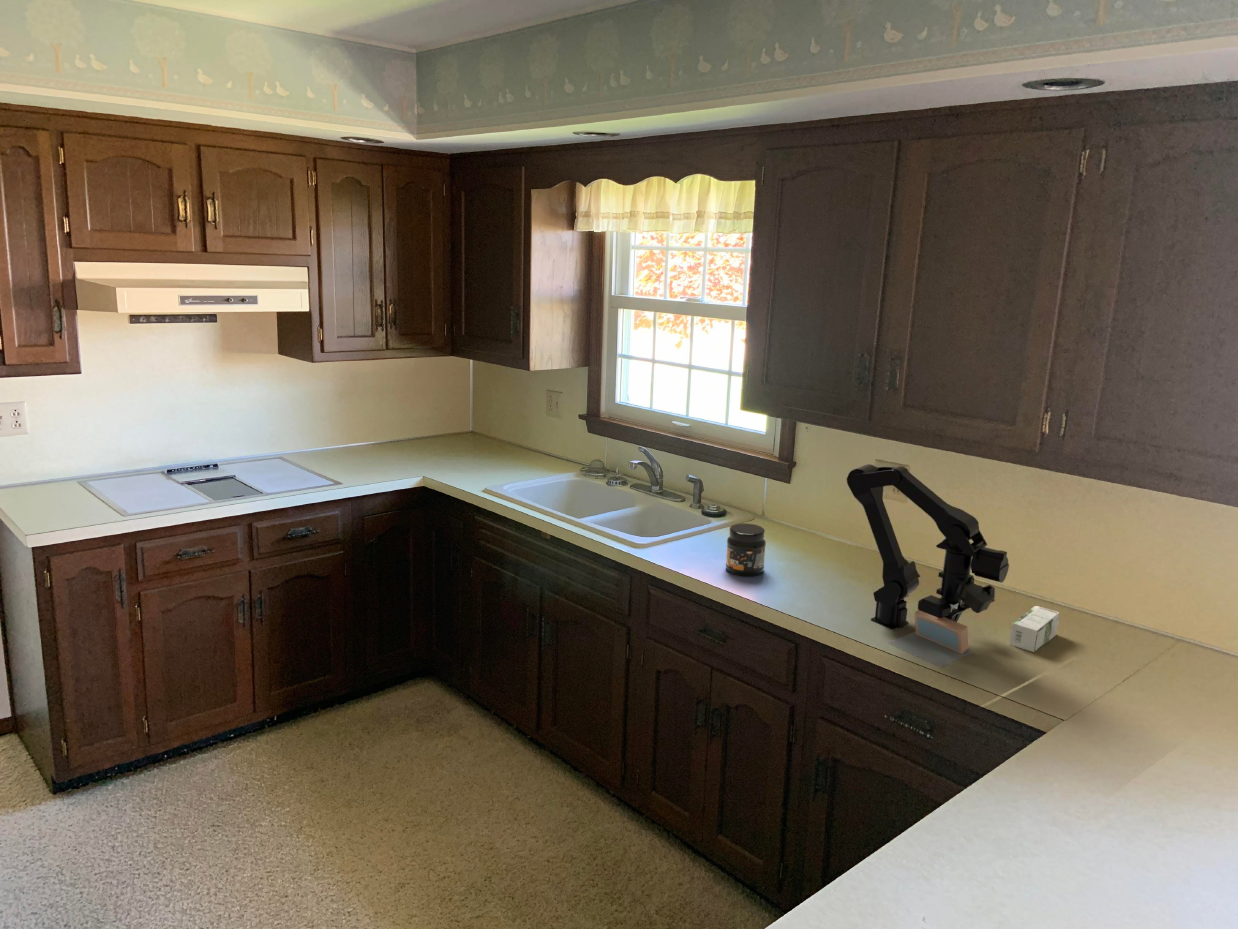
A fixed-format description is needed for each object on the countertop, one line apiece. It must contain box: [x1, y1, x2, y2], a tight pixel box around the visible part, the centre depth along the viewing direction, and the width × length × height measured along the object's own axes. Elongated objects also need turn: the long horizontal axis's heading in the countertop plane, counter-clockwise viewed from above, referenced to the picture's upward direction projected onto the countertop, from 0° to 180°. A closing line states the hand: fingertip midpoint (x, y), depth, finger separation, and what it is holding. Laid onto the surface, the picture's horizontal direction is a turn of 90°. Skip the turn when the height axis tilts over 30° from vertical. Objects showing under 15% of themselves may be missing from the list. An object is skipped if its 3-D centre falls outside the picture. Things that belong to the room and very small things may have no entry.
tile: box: [914, 609, 969, 654], centre depth 205 cm, size 12×3×6 cm, turn 37°
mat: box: [887, 630, 973, 668], centre depth 204 cm, size 14×12×1 cm
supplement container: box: [725, 522, 767, 577], centre depth 246 cm, size 10×10×12 cm
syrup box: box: [1009, 605, 1060, 653], centre depth 209 cm, size 6×6×14 cm
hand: (948, 633), depth 208 cm, fingers closed
